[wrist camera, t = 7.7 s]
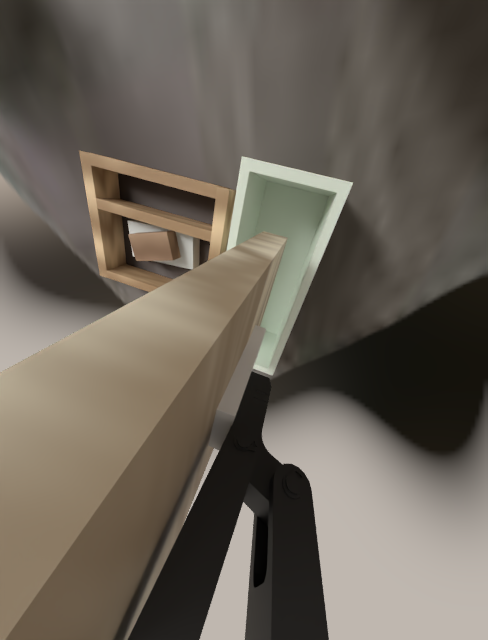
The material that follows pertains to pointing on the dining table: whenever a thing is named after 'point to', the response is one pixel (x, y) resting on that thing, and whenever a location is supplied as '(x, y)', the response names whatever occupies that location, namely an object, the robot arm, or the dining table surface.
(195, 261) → the offcut lower
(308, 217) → the tote
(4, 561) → the board
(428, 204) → the dining table surface
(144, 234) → the offcut upper
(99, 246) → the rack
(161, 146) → the dining table surface
